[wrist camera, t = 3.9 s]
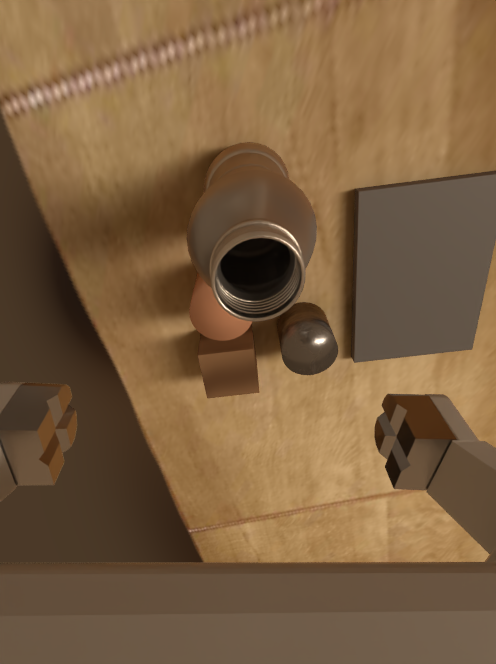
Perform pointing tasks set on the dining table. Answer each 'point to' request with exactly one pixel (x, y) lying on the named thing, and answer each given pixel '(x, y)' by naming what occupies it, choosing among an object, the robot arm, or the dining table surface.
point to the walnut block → (229, 365)
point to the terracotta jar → (213, 315)
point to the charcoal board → (421, 265)
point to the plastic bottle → (252, 233)
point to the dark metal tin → (306, 339)
